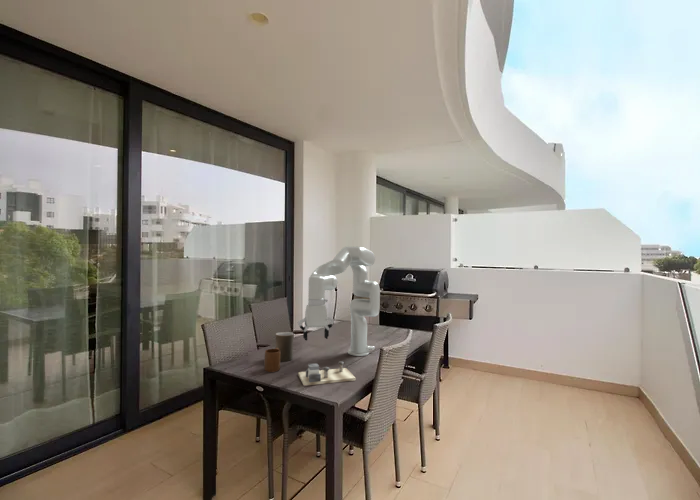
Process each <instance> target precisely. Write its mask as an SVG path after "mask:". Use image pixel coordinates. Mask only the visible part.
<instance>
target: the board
mask: <svg viewBox="0 0 700 500" xmlns="http://www.w3.org/2000/svg"><path fill="white" fill-rule="evenodd" d="M344 363H345V362H344V361H341V360H340V361H338V365H339V367H338V368H330V367H328V366H323V369H319V374H310V375H309V378H308V368H307V369H305V371H299V372H297V377H298V378H299V380H300V381H301V383H302V385H303V386H314V385H315V386H316V385H324V384H325V385H326V384H334V383H335V384H336V383H342V382H353V381H354V382H355V381H356V380H357V378H356V377H355V376H354V374H353V373H352V372H351V371H350V370H349V369H348V368H347V367H343V365H344Z"/></svg>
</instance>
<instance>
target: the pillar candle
mask: <svg viewBox="0 0 700 500" xmlns="http://www.w3.org/2000/svg"><path fill="white" fill-rule="evenodd" d="M274 347H275V348H279V350H280V363H281V362H290V361H293V359H294V332H290V331H283V332H282V331H281V332H276V333H275V346H274ZM275 348H274V349H275Z"/></svg>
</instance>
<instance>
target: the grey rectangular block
mask: <svg viewBox="0 0 700 500" xmlns="http://www.w3.org/2000/svg"><path fill="white" fill-rule="evenodd" d="M307 365H308V366H307V369H308V378H309V375H310V374H319V370H320V365H319V364H318V363H308V364H307Z"/></svg>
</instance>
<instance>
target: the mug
mask: <svg viewBox="0 0 700 500" xmlns="http://www.w3.org/2000/svg"><path fill="white" fill-rule="evenodd" d="M280 369H281V361H280V350H279V348H270V349H266V350H265V351H264V371H265V372H267V373H276V372H279V371H280Z"/></svg>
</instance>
